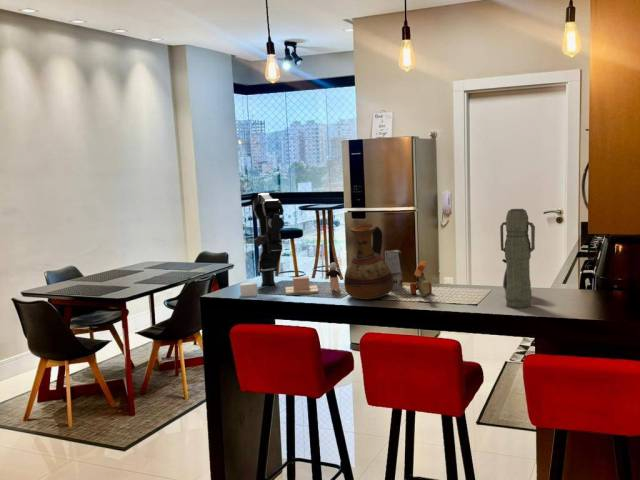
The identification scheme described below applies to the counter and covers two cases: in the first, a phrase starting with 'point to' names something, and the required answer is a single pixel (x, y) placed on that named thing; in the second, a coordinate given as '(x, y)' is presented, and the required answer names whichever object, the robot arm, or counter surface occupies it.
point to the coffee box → (395, 267)
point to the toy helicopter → (421, 281)
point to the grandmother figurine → (333, 277)
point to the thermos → (518, 258)
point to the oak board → (298, 292)
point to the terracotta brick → (301, 283)
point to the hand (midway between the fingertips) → (275, 263)
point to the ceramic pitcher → (368, 266)
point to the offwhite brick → (248, 289)
